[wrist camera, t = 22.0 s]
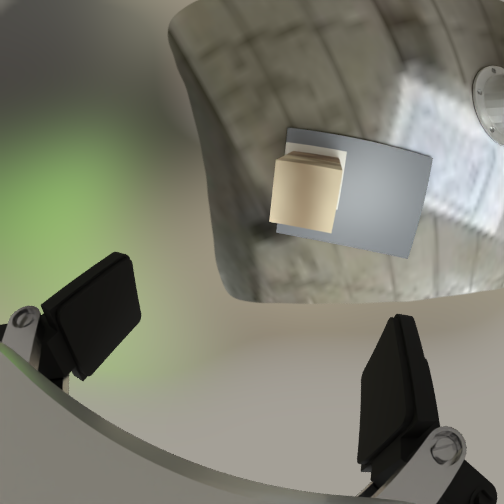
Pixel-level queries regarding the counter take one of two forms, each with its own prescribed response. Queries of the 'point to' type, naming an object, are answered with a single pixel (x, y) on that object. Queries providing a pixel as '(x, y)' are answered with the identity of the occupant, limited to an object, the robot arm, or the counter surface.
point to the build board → (368, 192)
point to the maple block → (305, 192)
